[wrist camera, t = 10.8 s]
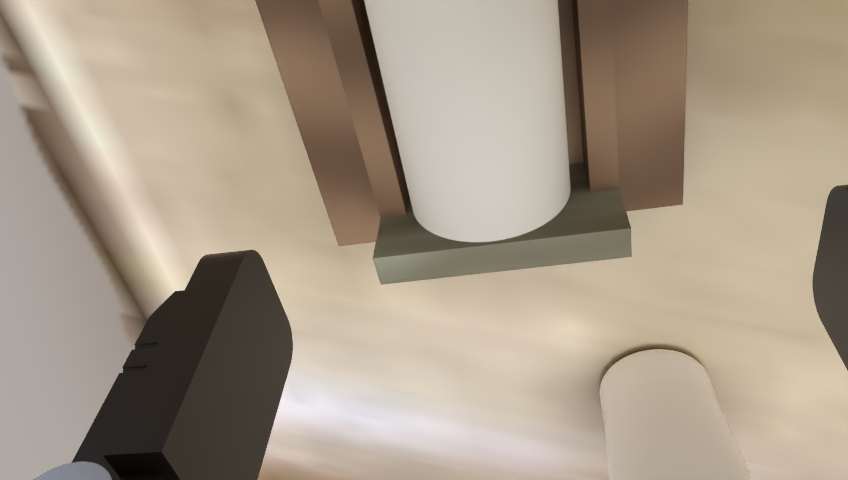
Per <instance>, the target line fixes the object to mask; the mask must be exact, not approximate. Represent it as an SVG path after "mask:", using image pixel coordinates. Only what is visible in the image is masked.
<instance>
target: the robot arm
mask: <svg viewBox="0 0 848 480" xmlns="http://www.w3.org/2000/svg"><path fill="white" fill-rule="evenodd" d="M813 295H814V301H815V305H816V309H817V312H818V315H819V317H820V319H821V321H822V323H823V325H824V327H825V329H826V331H827V333H828V335H829V336H830V338H831V340H832V342H833V344H834V346H835V348H836V349H837V351H838V353H839V355H840V357H841V359H842V361H843V362H844V364H845V366H846V368H847V370H848V185H842V186H836V187H834V188H833V189H832V190H831V192H830V194H829V196H828V199H827V204H826V209H825V214H824V219H823V225H822V230H821V235H820V241H819V246H818V251H817V256H816V262H815V267H814V272H813ZM292 351H293V342H292V332H291V327H290V324H289V321H288V318H287V316H286V314H285V311H284V309H283V306H282V304H281V302H280V299H279V297H278V295H277V292H276V290H275V287H274V285H273V283H272V280H271V278H270V276H269V273H268V271H267V269H266V266H265V264H264V262H263V259H262V258H261V256H260V255H259V253H258V252H256V251H255V250H246V251H237V252H228V253H219V254H210V255H205V256H203V257H202V258H201V259H200V261H199V263H198V265H197V267H196V269H195V271H194V273H193V275H192V277H191V279H190V281H189V283H188V285H187V287H186V289H185V290H184V291H175V292H174V293H173V294H172V295H171V296H170V297H169V298H168V299H167V300H166V301H165V302H164V303H163V304H162V305H161V306H160V307H159V308H158V309H157V310H156V311H155V312H154V313H153V314H152V315H151V316H150V317H149V319H148V321H147V322H146V324H145V326H144V328H143V330H142V332H141V334H140V336H139V337H138V339H137V341H136V343H135V350H132V351H131V352H130V355H129V356H128V358H127V360H126V362H125V364H124V366H123V373H119V375H118V377H117V379H116V381H115V383H114V384H113V386H112V388H111V390H110V392H109V394H108V396H107V398H106V399H105V402H104V403H103V405H102V407H101V409H100V411H99V413H98V414H97V416H96V418H95V420H94V422H93V424H92V426H91V428H90V429H89V431H88V433H87V435H86V437H85V439H84V441H83V442H82V444H81V446H80V448H79V450H78V452H77V454H76V456H75V458H74V459H73V461H72V463H69V464H65V465H61V466H59V467H56V468H53V469H51V470H49V471H47V472H46V473H43V474H42V475H40V476H39V477H37V478H35V479H34V480H257V479H258V475H259V472H260V468H261V465H262V462H263V458H264V455H265V451H266V448H267V444H268V441H269V437H270V434H271V430H272V427H273V423H274V420H275V416H276V413H277V409H278V406H279V402H280V399H281V395H282V392H283V388H284V385H285V381H286V378H287V374H288V371H289V367H290V364H291V359H292Z"/></svg>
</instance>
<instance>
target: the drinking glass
mask: <svg viewBox="0 0 848 480" xmlns="http://www.w3.org/2000/svg"><path fill="white" fill-rule="evenodd" d="M599 397H600V404H601V410H602V415H603V421H604V432H605V445H606V458H607V471H608V480H753V477H752V475H751V473H750V471H749V469H748V467H747V464H746V462H745V460H744V458H743V456H742V454H741V451H740V449H739V447H738V445H737V443H736V440H735V438H734V436H733V434H732V432H731V429H730V427H729V425H728V423H727V421H726V418H725V416H724V414H723V412H722V409H721V407H720V405H719V403H718V400H717V397H716V394H715V391H714V388H713V385H712V383H711V380H710V377H709V375H708V373H707V372H706V370H705V369H704V367H703V366H702V365H701V364H700V363H699V362H698V361H696V360H695V359H694V358H692V357H690V356H688V355H686V354H684V353H681V352H678V351H674V350H668V349H651V350H644V351H640V352H636V353H633V354H630V355H628V356H626V357H624V358H622V359H620V360H619V361H617V362H616V363H615V364H614V365H612V366H611V367H610V368H609V369H608V371H607V372H606V373H605V375H604V377H603V379H602V381H601V384H600V390H599Z"/></svg>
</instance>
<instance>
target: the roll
mask: <svg viewBox="0 0 848 480" xmlns="http://www.w3.org/2000/svg"><path fill="white" fill-rule="evenodd" d="M364 2H365V7H366V11H367V15H368V20H369V24H370V28H371V33H372V37H373V41H374V45H375V50H376V54H377V58H378V63H379V67H380V71H381V76H382V80H383V84H384V89H385V93H386V97H387V101H388V106H389V110H390V114H391V119H392V123H393V127H394V132H395V136H396V140H397V145H398V149H399V153H400V157H401V162H402V166H403V170H404V175H405V179H406V183H407V188H408V192H409V196H410V201H411V205H412V209H413V213H414V216H415V218H416V220H417V221H418V222H419V223H420V225H421V226H423V227H424V228H425V229H426V230H428V231H430V232H431V233H433V234H435V235H438V236H440V237H443V238H447V239H450V240H456V241H463V242H491V241H498V240H504V239H508V238H513V237H516V236H519V235H522V234H525V233H528V232H530V231H532V230H535V229H537V228H539V227H540V226H542V225H544V224H546V223H547V222H549V221H550V220H552V219H553V218H554V217H555V216H556V215H557V214H558V213H559V212H560V211H561V210H562V209H563V208H564V206H565V205H566V203H567V201H568V199H569V196H570V190H571V188H570V173H569V158H568V144H567V129H566V115H565V100H564V85H563V71H562V56H561V42H560V27H559V12H558V0H364Z"/></svg>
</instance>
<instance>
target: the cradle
mask: <svg viewBox="0 0 848 480" xmlns="http://www.w3.org/2000/svg"><path fill="white" fill-rule="evenodd" d="M255 1H256V3H257V6H258V9H259V12H260V15H261V18H262V21H263V24H264V27H265V30H266V33H267V36H268V39H269V42H270V45H271V48H272V51H273V54H274V57H275V59H276V62H277V65H278V68H279V71H280V74H281V77H282V80H283V83H284V86H285V89H286V92H287V95H288V98H289V101H290V104H291V107H292V110H293V113H294V116H295V118H296V121H297V124H298V127H299V130H300V133H301V136H302V139H303V142H304V145H305V148H306V151H307V154H308V157H309V160H310V163H311V166H312V169H313V172H314V174H315V177H316V180H317V183H318V186H319V189H320V192H321V195H322V198H323V201H324V204H325V207H326V210H327V213H328V216H329V219H330V222H331V225H332V228H333V231H334V233H335V236H336V239H337V242H338V245H339V246H344V245H352V244H361V243H369V242H376V245H375V250H374V255H373V261H374V264H375V267H376V270H377V274H378V277H379V280H380V283H381V284H390V283H399V282H408V281H417V280H426V279H435V278H444V277H453V276H462V275H471V274H480V273H489V272H498V271H507V270H516V269H525V268H534V267H543V266H552V265H561V264H570V263H579V262H588V261H597V260H606V259H615V258H624V257H632V253H631V227H630V224H629V220H628V217H627V213H626V211H632V210H640V209H649V208H657V207H665V206H673V205H682V204H683V173H684V134H685V95H686V57H687V18H688V0H558V12H559V27H560V42H561V56H562V71H563V85H564V100H565V115H566V129H567V144H568V158H569V173H570V188H571V190H570V196H569V199H568V201H567V203H566V205H565V206H564V208H563V209H562V210H561V211H560V212H559V213H558V214H557V215H556V216H555V217H554V218H553V219H552V220H550V221H549V222H547V223H546V224H544V225H542V226H540V227H539V228H537V229H535V230H532V231H530V232H528V233H525V234H522V235H519V236H516V237H513V238H508V239H504V240H498V241H491V242H463V241H456V240H450V239H447V238H443V237H440V236H438V235H435V234H433V233H431V232H430V231H428V230H426V229H425V228H424V227H423V226H421V225H420V223H419V222H418V221H417V220H416V218H415V216H414V213H413V209H412V205H411V201H410V196H409V192H408V188H407V183H406V179H405V175H404V170H403V166H402V162H401V157H400V153H399V149H398V145H397V140H396V136H395V132H394V127H393V123H392V119H391V114H390V110H389V106H388V101H387V97H386V93H385V89H384V84H383V80H382V76H381V71H380V67H379V63H378V58H377V54H376V50H375V45H374V41H373V37H372V33H371V28H370V24H369V20H368V15H367V11H366V7H365V2H364V0H255Z"/></svg>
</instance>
